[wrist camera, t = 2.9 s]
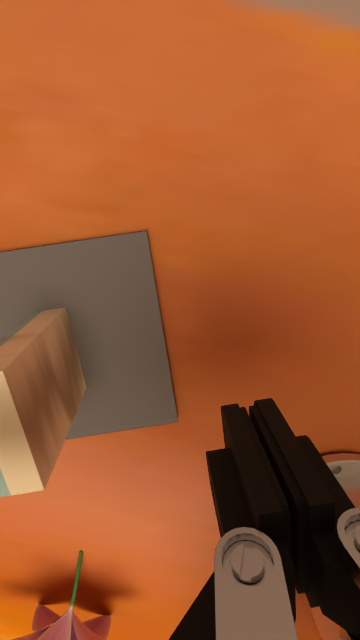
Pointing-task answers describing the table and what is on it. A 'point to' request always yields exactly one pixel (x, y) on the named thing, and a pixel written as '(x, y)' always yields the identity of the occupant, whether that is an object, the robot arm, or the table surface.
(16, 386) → the tile
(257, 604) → the robot arm
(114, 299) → the mat
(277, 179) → the table surface
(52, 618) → the lily
